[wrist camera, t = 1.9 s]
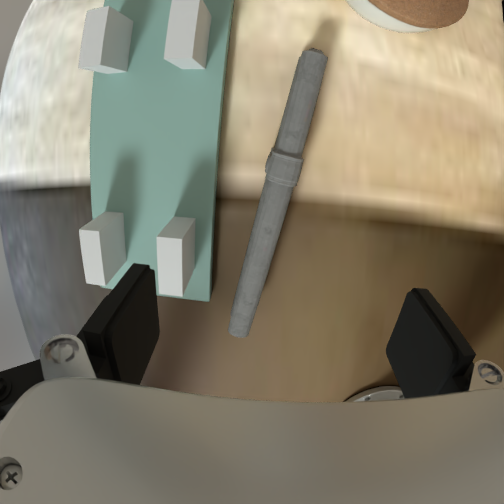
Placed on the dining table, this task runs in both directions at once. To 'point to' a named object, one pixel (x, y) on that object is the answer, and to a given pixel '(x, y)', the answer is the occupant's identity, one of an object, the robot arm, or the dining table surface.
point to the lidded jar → (410, 13)
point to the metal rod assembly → (277, 188)
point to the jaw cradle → (155, 140)
